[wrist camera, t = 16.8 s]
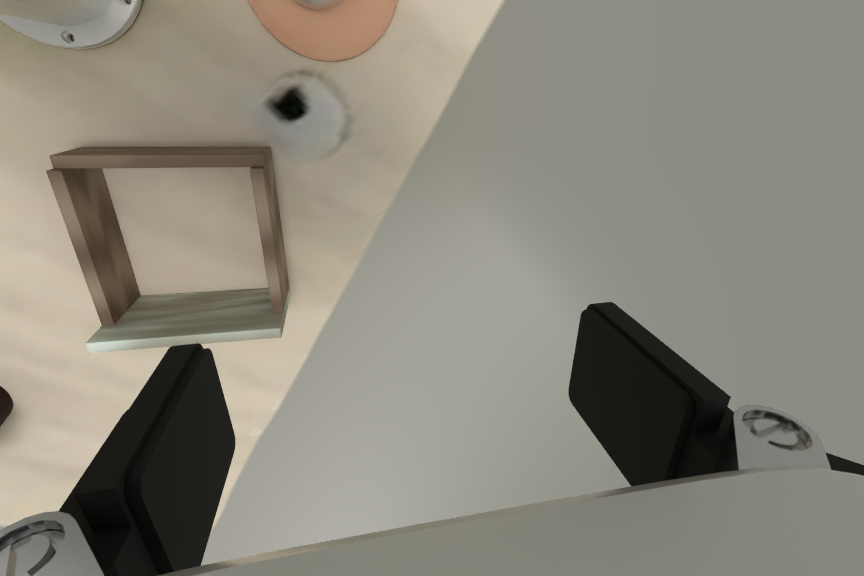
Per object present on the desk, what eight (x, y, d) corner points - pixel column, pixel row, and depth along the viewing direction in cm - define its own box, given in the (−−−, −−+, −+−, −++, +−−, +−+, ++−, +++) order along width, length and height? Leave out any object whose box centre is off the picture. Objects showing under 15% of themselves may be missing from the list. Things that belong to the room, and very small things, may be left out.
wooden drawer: (82, 147, 38) (15, 164, 30) (270, 146, 41) (254, 162, 33) (132, 305, 45) (88, 353, 37) (290, 295, 48) (281, 337, 40)
